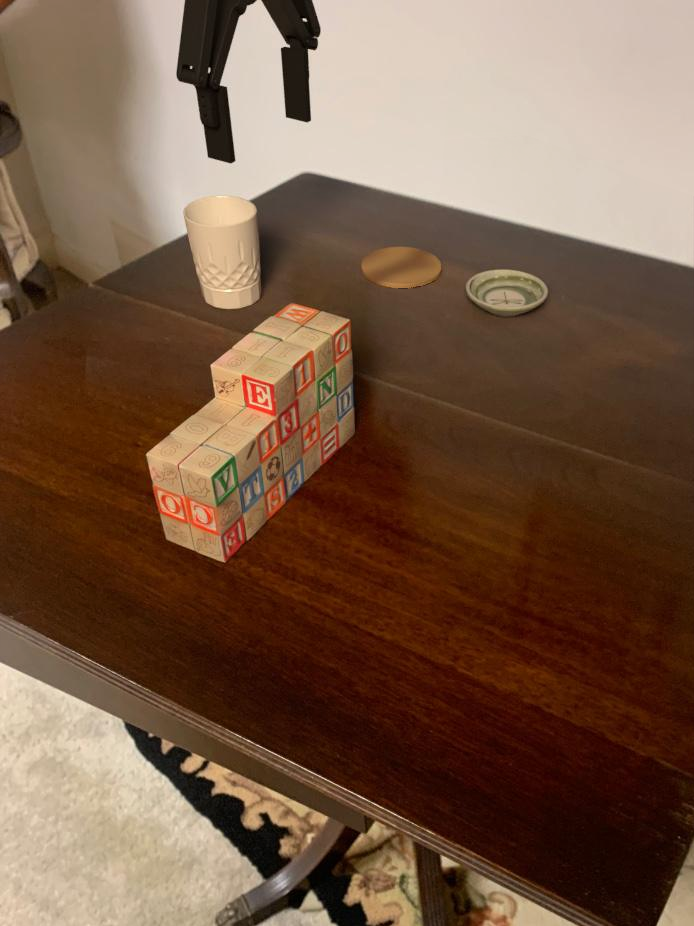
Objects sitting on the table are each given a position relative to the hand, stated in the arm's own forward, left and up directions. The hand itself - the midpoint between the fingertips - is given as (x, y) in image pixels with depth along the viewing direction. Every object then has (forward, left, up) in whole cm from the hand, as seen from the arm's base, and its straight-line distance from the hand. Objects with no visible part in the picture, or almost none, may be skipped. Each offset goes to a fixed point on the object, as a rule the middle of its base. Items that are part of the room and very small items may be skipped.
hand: (261, 138), depth 90 cm
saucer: (+23, +13, -18) cm, 32 cm away
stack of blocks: (+17, -28, -18) cm, 38 cm away
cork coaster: (+8, +15, -18) cm, 25 cm away
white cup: (-6, -1, -18) cm, 19 cm away
